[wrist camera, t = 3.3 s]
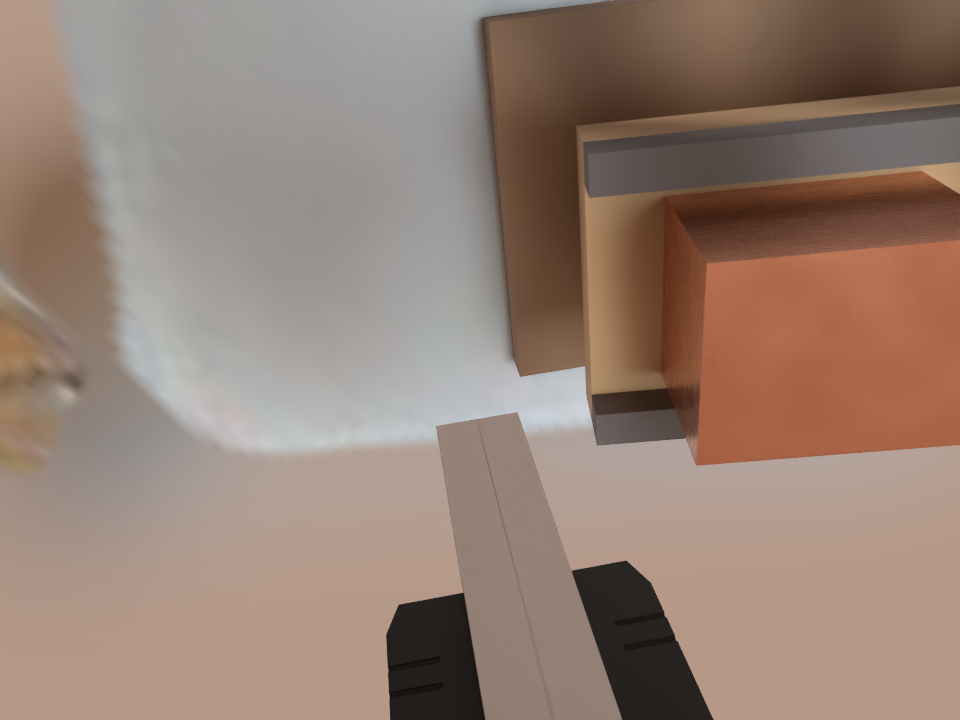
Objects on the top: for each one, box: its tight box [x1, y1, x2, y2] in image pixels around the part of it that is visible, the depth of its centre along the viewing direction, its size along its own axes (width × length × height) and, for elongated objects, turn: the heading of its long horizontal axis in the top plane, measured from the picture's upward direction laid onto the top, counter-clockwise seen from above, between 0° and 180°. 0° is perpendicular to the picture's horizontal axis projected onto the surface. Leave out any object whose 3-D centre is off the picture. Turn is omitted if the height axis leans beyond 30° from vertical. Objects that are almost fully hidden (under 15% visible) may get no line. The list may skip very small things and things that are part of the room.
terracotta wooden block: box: [661, 171, 960, 465], centre depth 18 cm, size 6×5×4 cm
